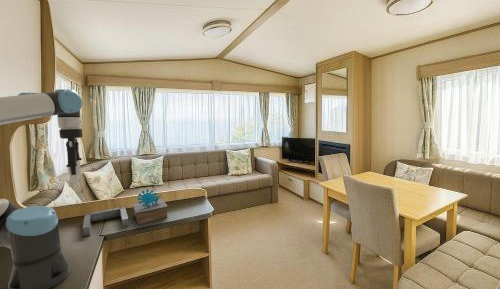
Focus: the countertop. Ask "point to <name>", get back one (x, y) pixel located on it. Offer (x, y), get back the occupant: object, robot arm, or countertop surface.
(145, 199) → the blue lumpy piece
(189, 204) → the countertop surface
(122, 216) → the cradle
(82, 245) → the countertop surface
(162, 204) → the dark brown wooden box
